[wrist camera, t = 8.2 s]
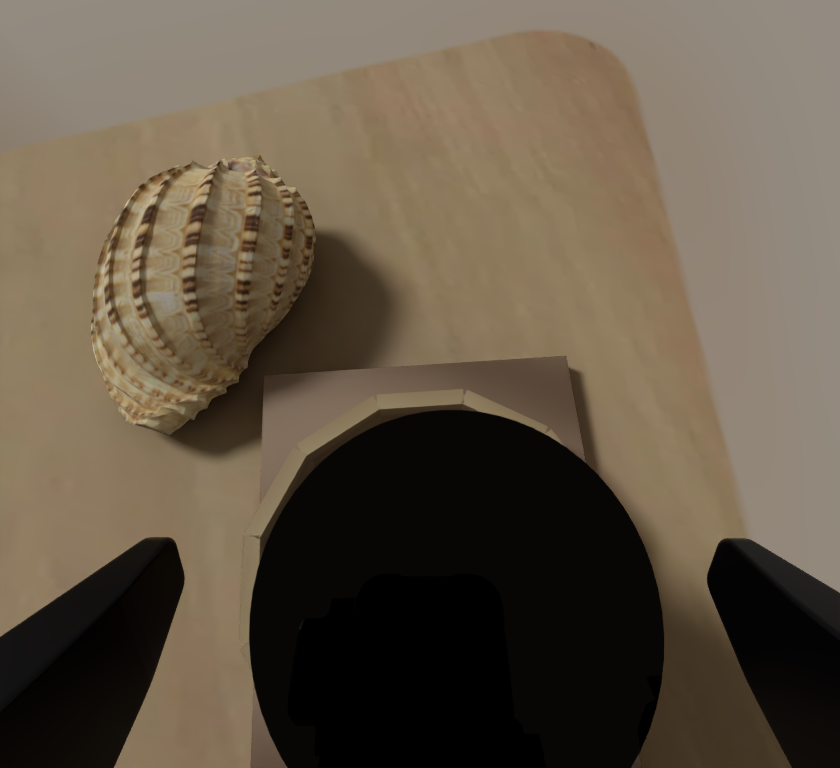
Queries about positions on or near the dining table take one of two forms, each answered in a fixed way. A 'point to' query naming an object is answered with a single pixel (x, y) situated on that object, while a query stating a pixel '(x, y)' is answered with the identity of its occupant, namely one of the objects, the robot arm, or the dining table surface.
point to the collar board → (368, 407)
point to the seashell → (195, 285)
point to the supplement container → (455, 606)
